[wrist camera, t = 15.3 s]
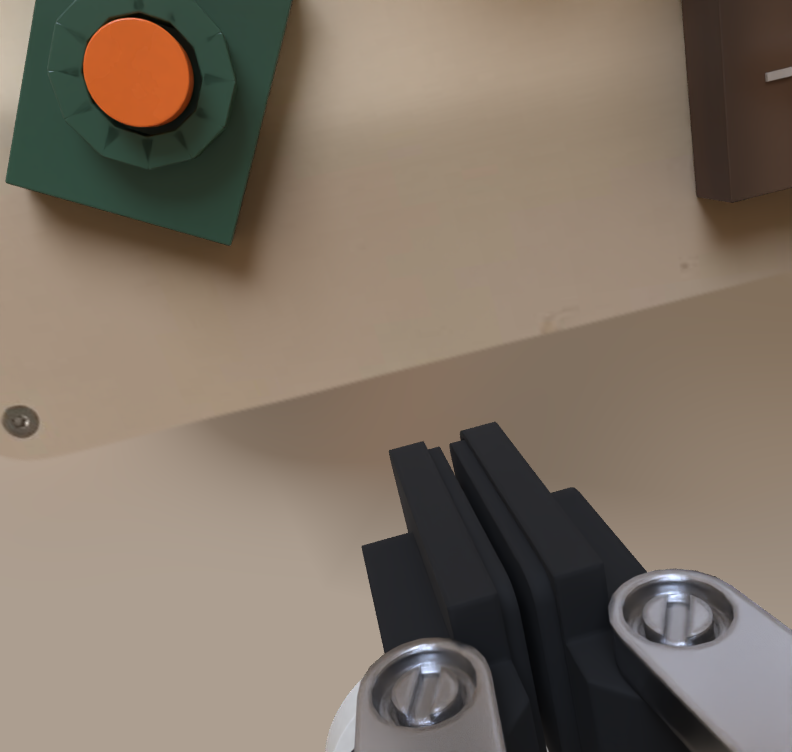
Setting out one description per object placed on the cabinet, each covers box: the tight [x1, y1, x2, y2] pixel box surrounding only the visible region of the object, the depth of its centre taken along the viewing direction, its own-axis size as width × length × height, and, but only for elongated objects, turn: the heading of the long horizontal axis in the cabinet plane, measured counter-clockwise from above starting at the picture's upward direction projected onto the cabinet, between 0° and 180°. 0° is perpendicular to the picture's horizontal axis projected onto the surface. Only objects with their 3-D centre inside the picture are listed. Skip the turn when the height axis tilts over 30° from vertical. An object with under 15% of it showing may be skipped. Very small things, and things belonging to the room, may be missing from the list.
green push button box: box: [6, 0, 293, 246], centre depth 30 cm, size 11×9×4 cm
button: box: [83, 18, 194, 127], centre depth 27 cm, size 4×4×2 cm
